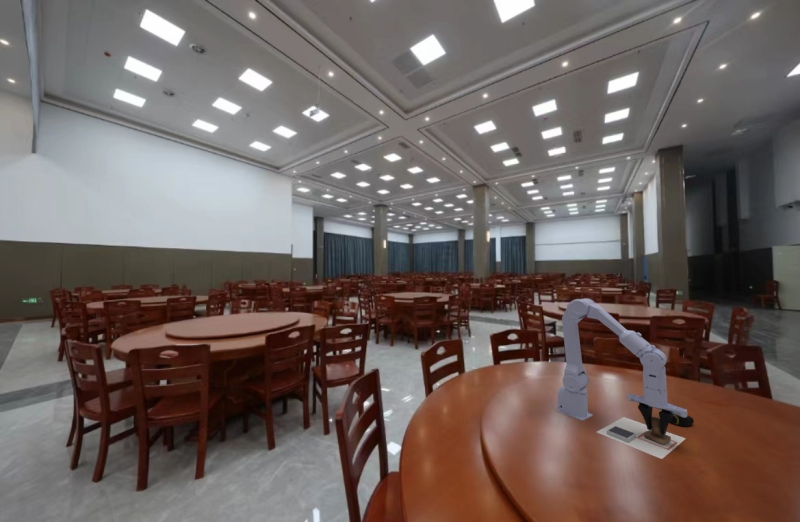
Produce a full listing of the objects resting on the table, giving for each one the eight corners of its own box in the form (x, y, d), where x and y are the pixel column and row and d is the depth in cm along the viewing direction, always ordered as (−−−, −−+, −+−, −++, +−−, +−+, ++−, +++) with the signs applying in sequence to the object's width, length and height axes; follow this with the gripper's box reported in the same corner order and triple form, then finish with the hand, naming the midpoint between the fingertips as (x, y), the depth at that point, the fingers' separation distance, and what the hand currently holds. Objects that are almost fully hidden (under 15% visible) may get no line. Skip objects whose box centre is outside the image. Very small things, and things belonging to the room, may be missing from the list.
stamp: (644, 437, 94) (643, 417, 94) (651, 434, 96) (650, 414, 97) (663, 445, 90) (662, 424, 90) (670, 441, 92) (670, 420, 92)
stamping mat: (596, 433, 97) (595, 427, 97) (623, 417, 108) (623, 413, 108) (661, 460, 83) (661, 454, 83) (685, 439, 94) (685, 434, 94)
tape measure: (695, 427, 102) (694, 416, 103) (682, 429, 100) (682, 418, 101) (672, 418, 109) (671, 408, 109) (659, 420, 107) (659, 410, 107)
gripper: (689, 392, 90) (691, 438, 89) (632, 378, 102) (634, 418, 101) (682, 397, 86) (684, 445, 85) (624, 382, 98) (625, 424, 97)
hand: (656, 431), depth 93 cm, fingers closed on stamp, 3 cm apart
